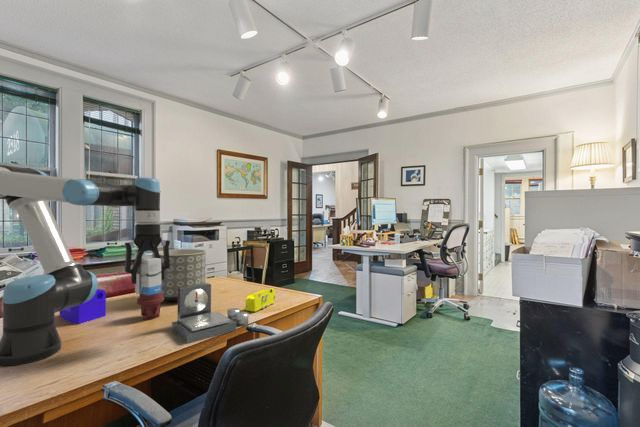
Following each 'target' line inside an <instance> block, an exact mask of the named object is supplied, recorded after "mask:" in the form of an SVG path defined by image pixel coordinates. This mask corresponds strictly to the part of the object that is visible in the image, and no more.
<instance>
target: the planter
mask: <svg viewBox="0 0 640 427" xmlns="http://www.w3.org/2000/svg"><path fill="white" fill-rule="evenodd" d="M158 251H159V255H160V258H161V261H162V263H163V266H164V255H163V250H158ZM206 255H207V254H206V250H205V249H198V248H197V249H194V248H190V249H189V248H185V249H183V248H180V249H169V261H170V268H168V269H165V271H164V280H161V289H162V296H164V300H166V301H170V302H178V287H185V286H191V285H198V284H205V283H206V266H207V265H206V261H207V260H206V259H207V258H206ZM151 257H152V258H155V257H154V254H153V252H152V253H151Z"/></svg>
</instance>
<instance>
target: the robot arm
mask: <svg viewBox="0 0 640 427" xmlns="http://www.w3.org/2000/svg"><path fill="white" fill-rule="evenodd" d="M160 186H161V185H160V180H159V179H157V178H154V177H152V178H151V177H136V178H135V179H134V183H132V184H120V183H119V184H117V183H111V182H110V183H109V182H102V181H94V180H89V179H82V178H81V179H80V178H79V179H76V178H69V177H61V176H52V175H48V174H47V173H46V172H44V171H42V170H38V169H34V168H31V167H21V166H19V167H18V166H13V165H6V164H5V165H4V164H0V200H5V202H6V204H7V206H8V208H9V209H10V210H12V211H15V212H17V214H18V216H19V219H20V220H21V222H22V225H23V227H24V230H25V232H26V234H27V236H28V238H29V240H30V243H31V245H32V247H33V250H34V252H35V253H36V257H37V258H38V261H39V263H40V265H41V267H42V269H43V270H42V271H43V274H36V275H32V276H26V277H22V278H18V279H15V280H13V281H10V282H8V283H7V284H6V285H5V286H4V288H3V293H2V295H3V296H2V300H1V301H2V336H1V337H0V366H1V367H2V366H3V367H4V366H5V367H7V366H17V365H23V364H28V363H33V362H37V361H40V360H43V359H46V358H48V357H51V356H53V355H54V354H56V353H58V352H59V351H60V350H62V339H61V336H60V334H59V332H58V330H57V328H56V325H55V313H58V312H59V313H60V311H62V310H65V309H68V308H71V307H74V306H79V305H81V304H83V303H85V302H87V301H89V300H90V299H92V298H93V297H94V295H95V293H96V290H97V289H98V288H99V287H98V284H99V283H98V278H97V276H96V275H95V273H93V272H91V271H90V270H84V268H83V265H82V263H81V262H76V261H75V260H74V258H73V256H72V254H71V251H70V249H69V247H68V245H67V243H66V241H65V239H64V238H65V237H64V235H63V234H62V231H61V229H60V227H59V224H58V222H57V221H56V219H55V216H54V213H53V212H52V210H51V208H50V205H49V203H50V202H59V203H69V204H70V205H73V206H74V205H75V206H84V207H85V206H99V207H100V206H101V207H110V208H112V207H113V208H118V207H134V222H135V223H136V224H135V225H134V239H132V241H128V242H124V243H123V244H124V247H125V264H124V272H125V273H127V274H130V278H131V279H130V280H131V283H132V285H134V293H135V294H136V295H139V274H138V273H137V270H138V267H139V264H140V261H141V258H142V257H143V256H144V253H145V252H148V251H150V252H152V253H153V254H154V257H155V258H160V255H159V251H160V250H159V249H158V247H159V246H160V244H161V246H162V251H163V255H164V266H163V263H162V261H161V280H164V271H165V269H168V268H170V261H169V250H170V249H169V248H170V244H171V241H170V240H168V239H163V238H162V236H161V224H160V222H161V209H160V207H161V187H160ZM134 245H135V246H136V247H137V252H136V256H135V257H134V262H133V265H132V255H133V254H132V252H133V250H132V249H133V248H134ZM160 259H161V258H160ZM131 266H132V268H131Z"/></svg>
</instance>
